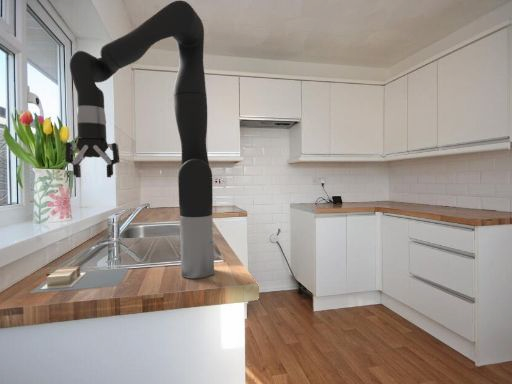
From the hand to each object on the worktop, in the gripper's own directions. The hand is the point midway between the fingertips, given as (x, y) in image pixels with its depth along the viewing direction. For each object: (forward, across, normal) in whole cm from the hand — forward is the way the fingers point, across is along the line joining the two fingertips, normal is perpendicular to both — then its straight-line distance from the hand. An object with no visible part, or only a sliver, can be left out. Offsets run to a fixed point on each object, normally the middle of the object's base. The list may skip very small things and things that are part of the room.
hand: (93, 177), depth 89 cm
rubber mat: (+28, 0, -11) cm, 30 cm away
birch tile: (+28, -5, -11) cm, 30 cm away
